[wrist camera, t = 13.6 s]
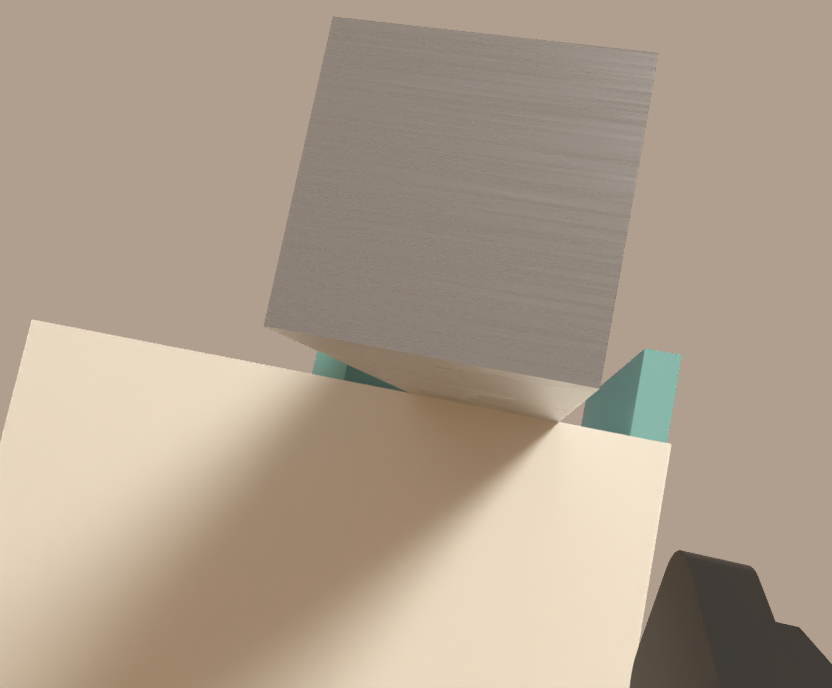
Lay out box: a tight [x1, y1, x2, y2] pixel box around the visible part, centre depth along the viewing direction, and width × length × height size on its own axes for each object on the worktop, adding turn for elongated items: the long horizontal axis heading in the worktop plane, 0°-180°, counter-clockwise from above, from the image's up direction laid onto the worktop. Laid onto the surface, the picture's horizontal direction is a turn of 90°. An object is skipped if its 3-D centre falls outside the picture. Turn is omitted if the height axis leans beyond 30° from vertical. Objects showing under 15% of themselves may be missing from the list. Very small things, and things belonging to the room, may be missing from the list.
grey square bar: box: [264, 17, 658, 422], centre depth 22 cm, size 28×4×4 cm, turn 172°
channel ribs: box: [312, 349, 681, 443], centre depth 26 cm, size 18×8×2 cm, turn 172°
